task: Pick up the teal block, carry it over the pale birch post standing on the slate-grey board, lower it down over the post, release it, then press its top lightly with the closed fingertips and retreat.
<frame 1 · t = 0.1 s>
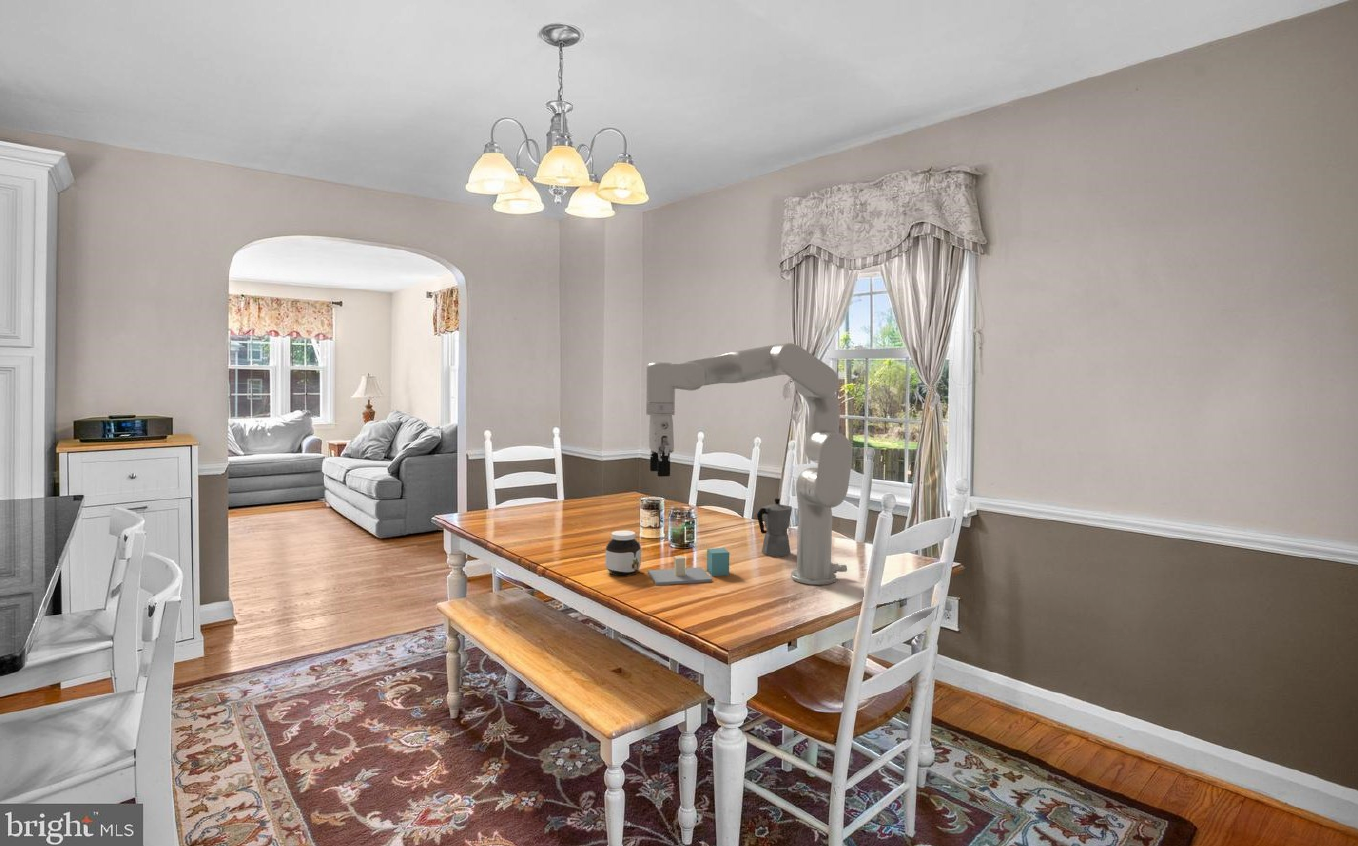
hand: (659, 473, 187), 31 cm above the table, fingers open, 9 cm apart
stand: (679, 577, 199), on the table
teal block: (717, 572, 204), on the table
coffeepot: (773, 554, 226), on the table
spread jar: (621, 571, 206), on the table
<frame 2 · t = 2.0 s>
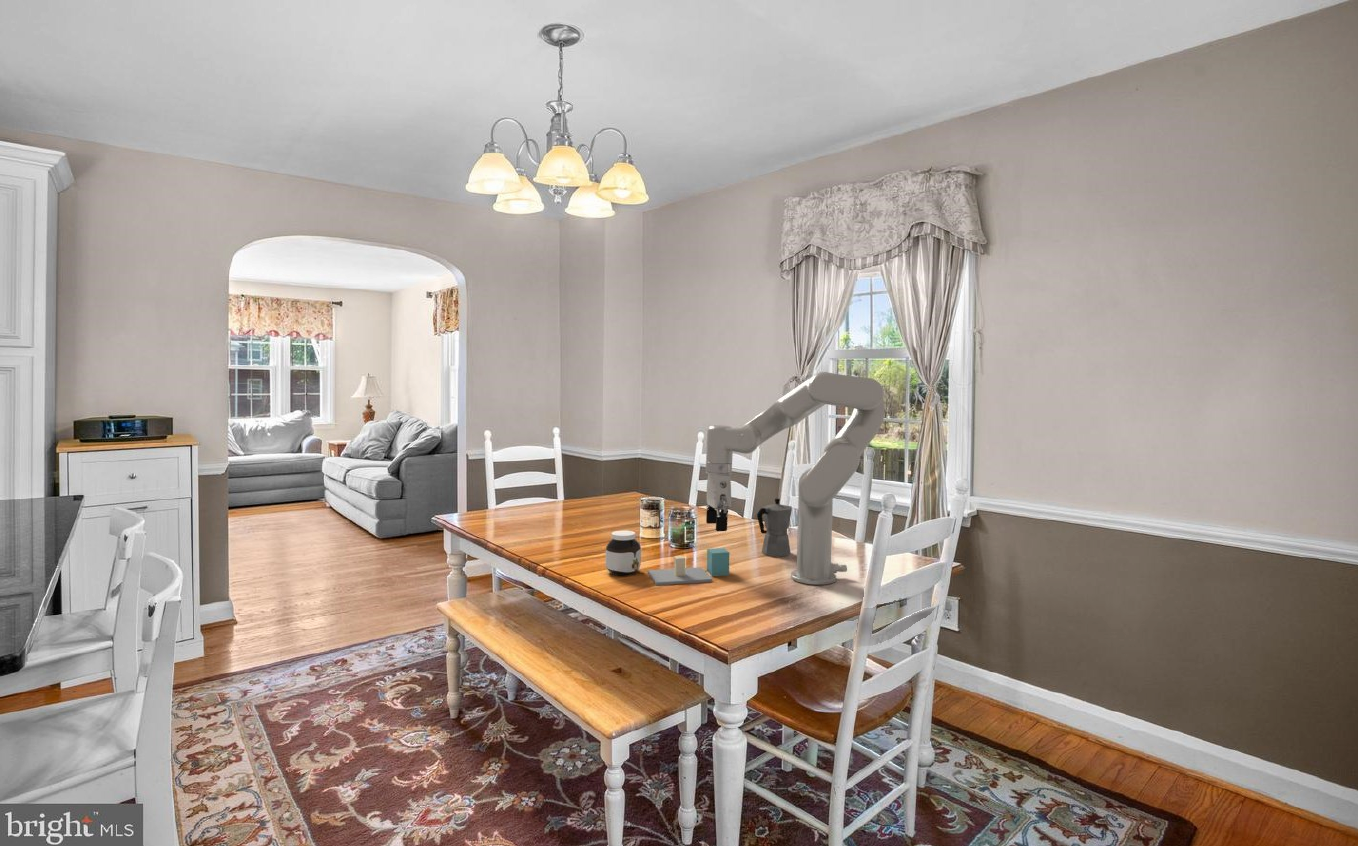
hand: (716, 527, 203), 13 cm above the table, fingers open, 9 cm apart
nothing on the table moved.
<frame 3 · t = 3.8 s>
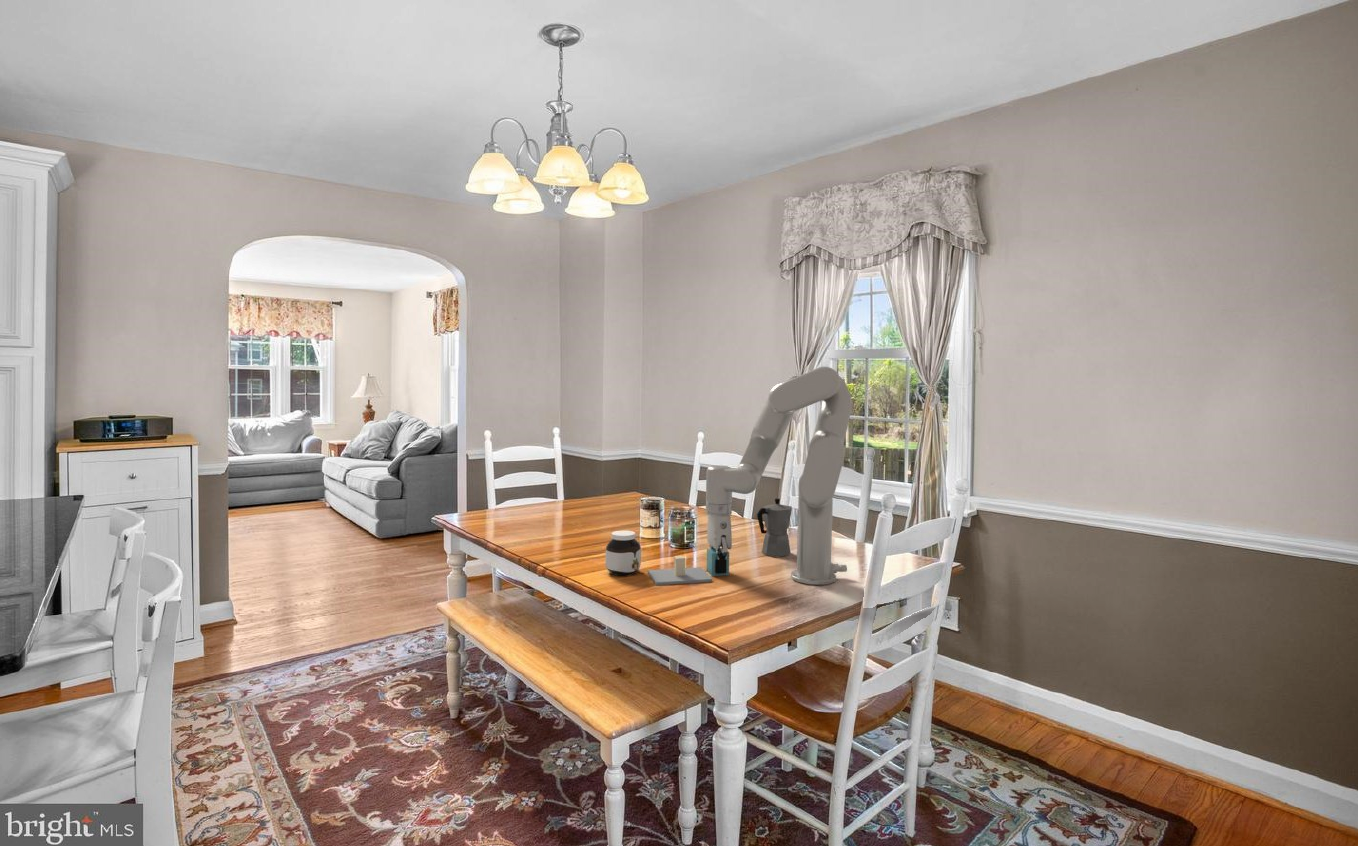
hand: (717, 569, 204), 1 cm above the table, fingers closed on teal block, 5 cm apart
teal block: (717, 572, 204), on the table, touching gripper
everything else where it was.
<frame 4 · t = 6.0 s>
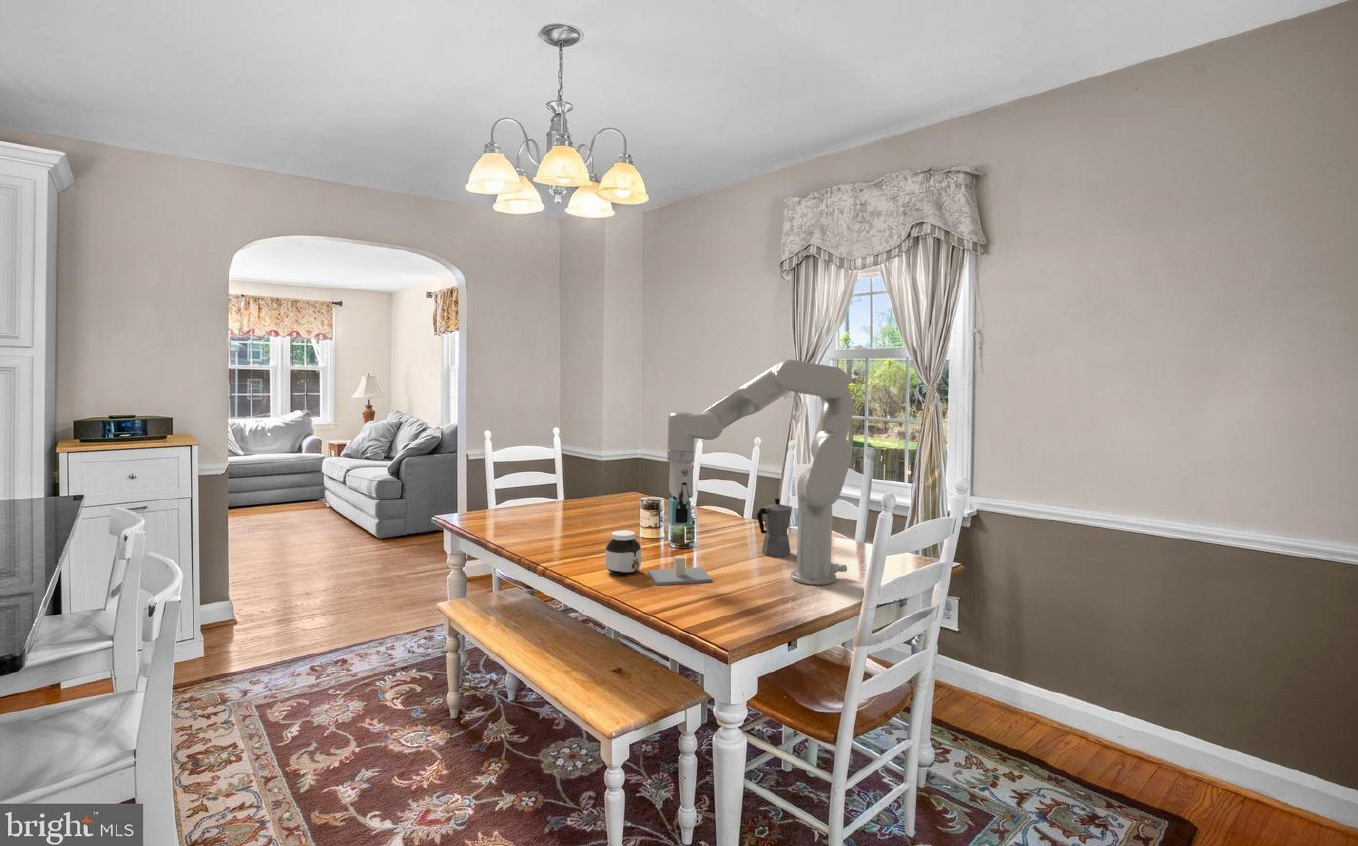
hand: (679, 519, 198), 17 cm above the table, fingers closed on teal block, 5 cm apart
teal block: (678, 522, 198), point 16 cm above the table, touching gripper
everything else where it was.
when the fingers open (3 cm above the table, at t = 8.4 s): teal block stays where it is, resting on stand.
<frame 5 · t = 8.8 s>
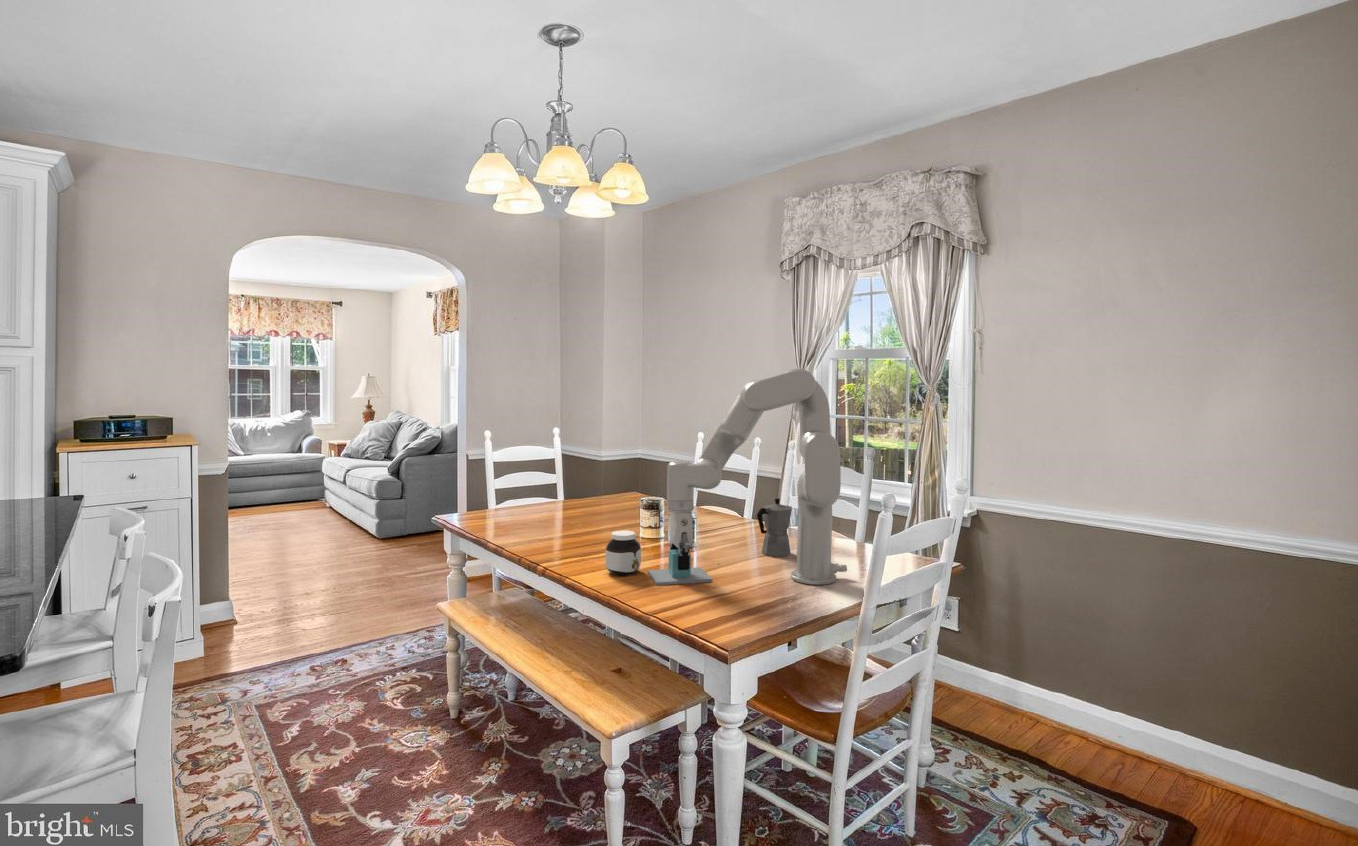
hand: (679, 564, 199), 4 cm above the table, fingers open, 9 cm apart
teal block: (679, 574, 199), point 1 cm above the table, touching stand
everything else where it was.
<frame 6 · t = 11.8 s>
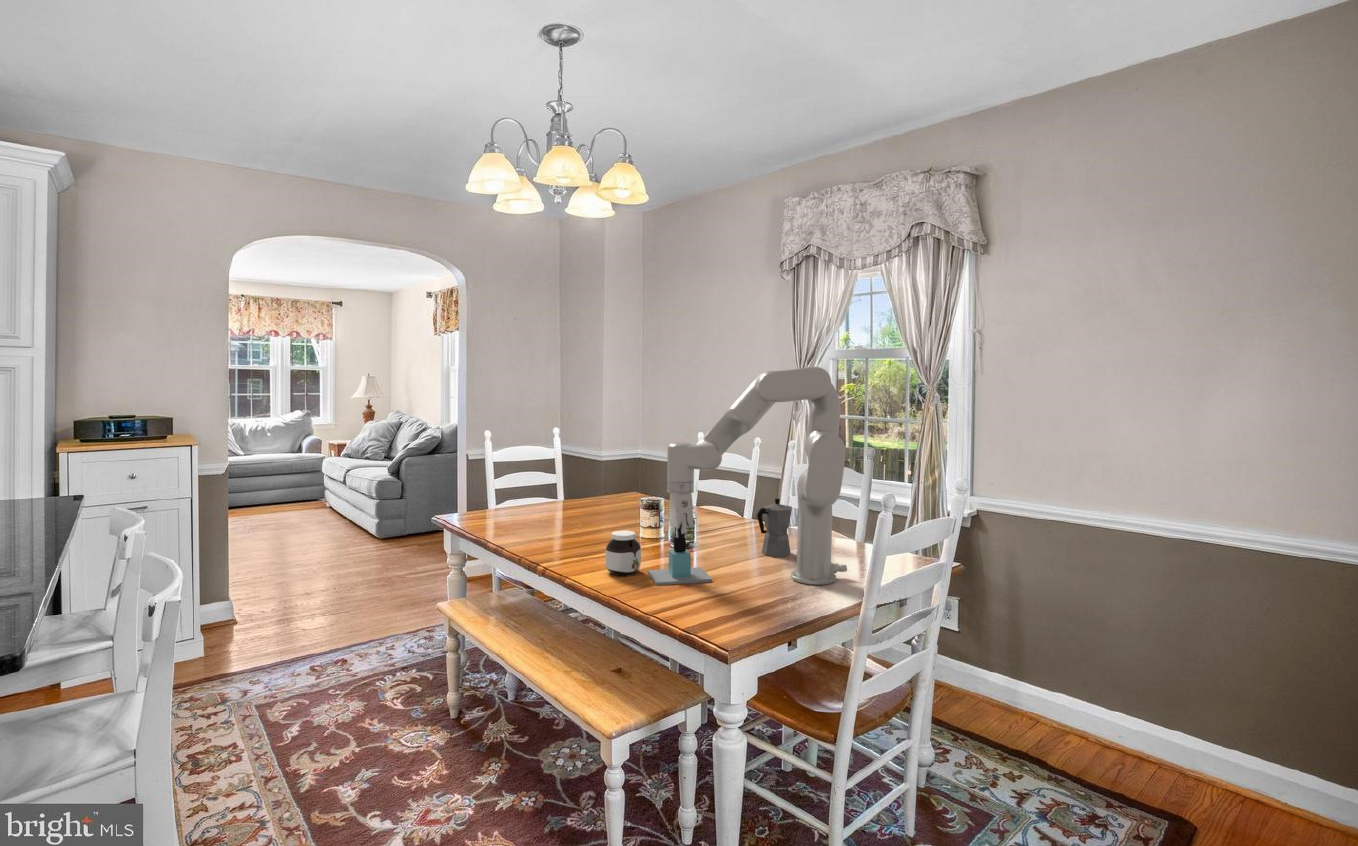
hand: (679, 550, 199), 8 cm above the table, fingers closed
nothing on the table moved.
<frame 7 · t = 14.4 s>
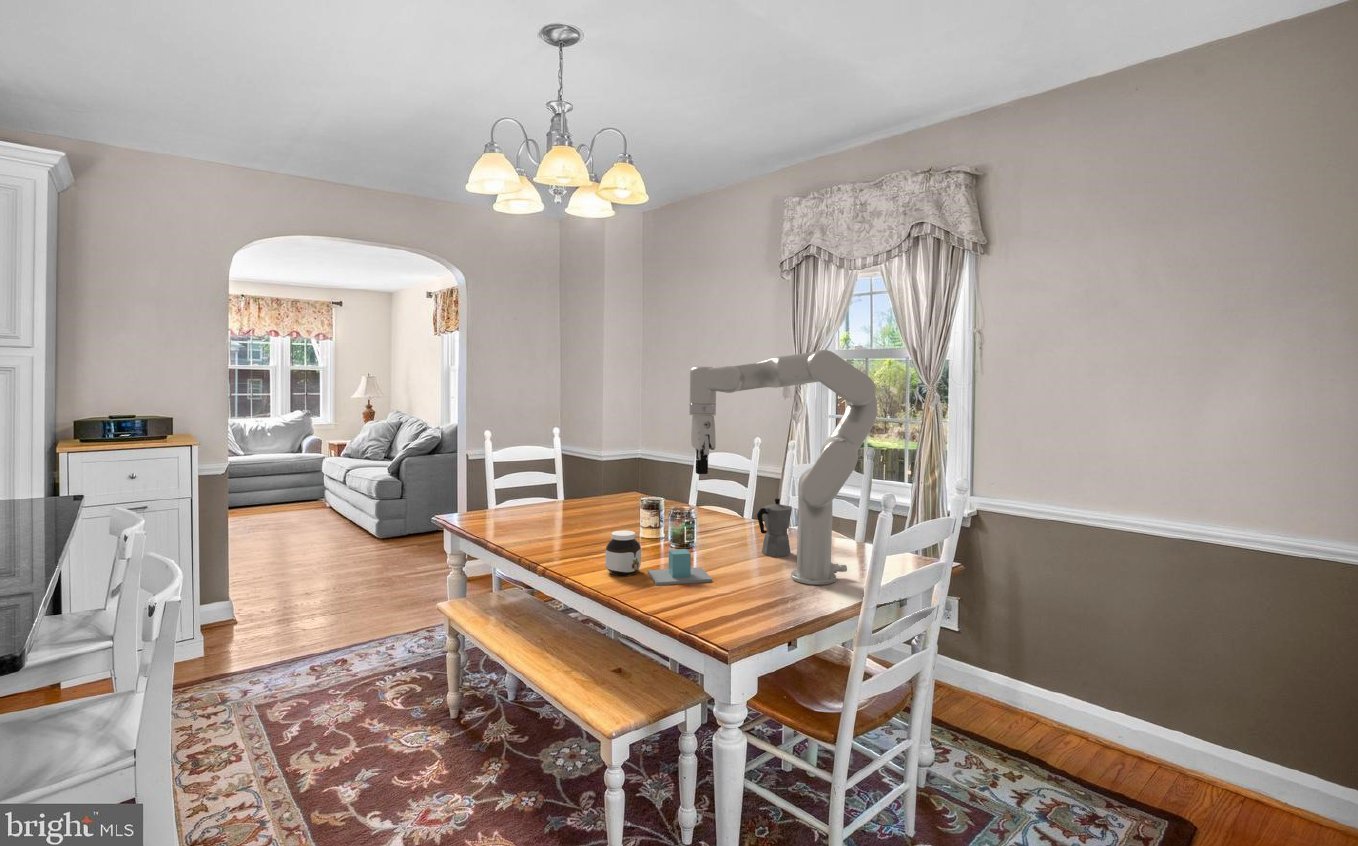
hand: (701, 473, 202), 29 cm above the table, fingers closed
nothing on the table moved.
at the end: teal block 0.0 cm from the stand (horizontally); teal block point 0.8 cm above the table; the gripper is holding nothing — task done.
